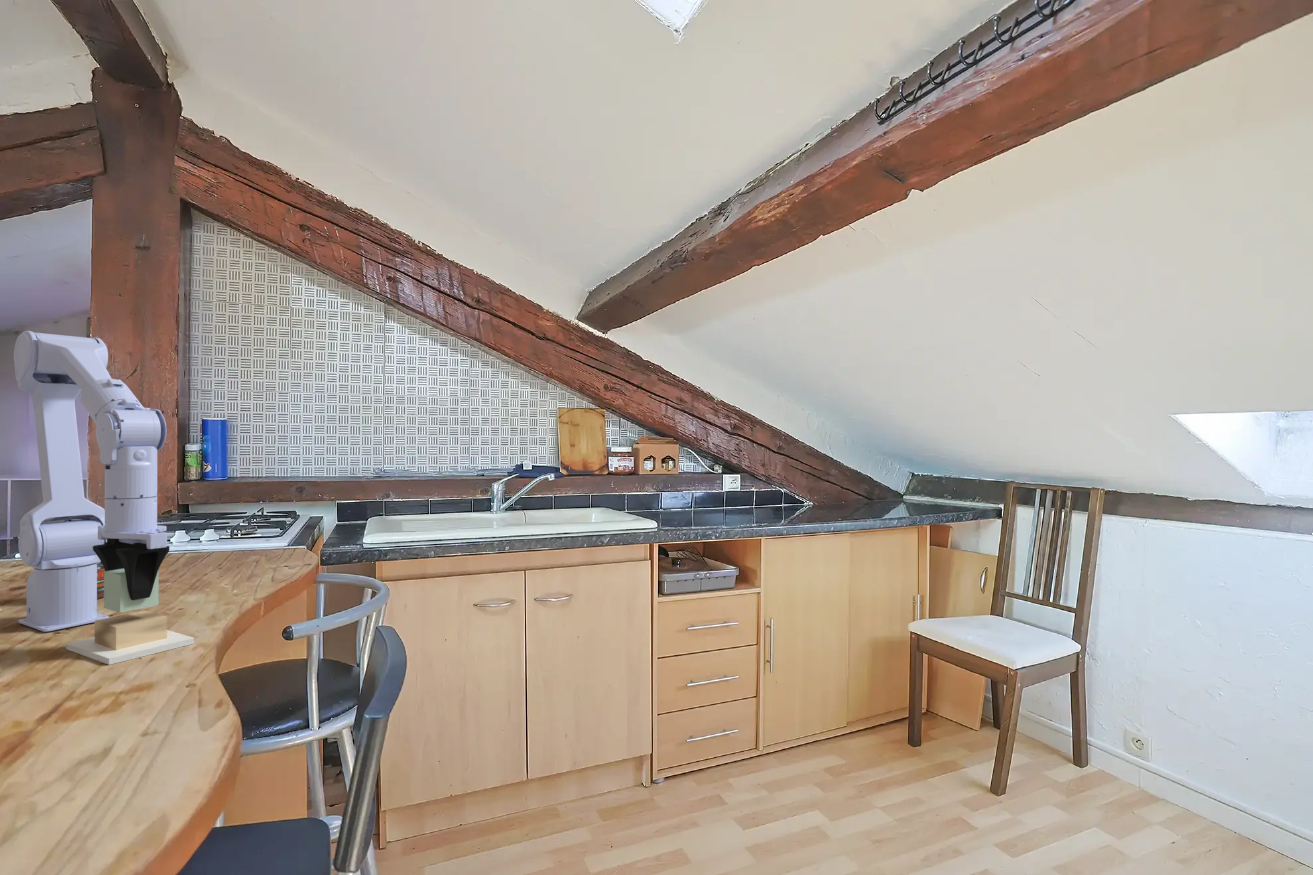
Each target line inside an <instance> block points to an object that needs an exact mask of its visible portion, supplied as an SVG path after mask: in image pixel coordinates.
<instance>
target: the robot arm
mask: <svg viewBox="0 0 1313 875" xmlns="http://www.w3.org/2000/svg"><path fill="white" fill-rule="evenodd" d="M13 362H14V363H13V364H14V375H15V381H16V382H17V388H18V389H19V390H20V391H23V392H25V393H27V394H28V395H30V396H31V402H32V406H33V412H34V413H33V414H34V419H35V421H34V423H35V431H36V443H37V452H38V462H39V473H40V483H41V492H42V502H41V503H40V504H37V505H36V506H35V507H34V508H32V509H30V510H29V511H28V512H26V513H24V515H23V516H22V518H20V521H19V535H18V541H17V542H18V544H17V545H18V553H19V557H20V559H21V561H22V563H24V564H26V566H28V567H31V568H33V570H32V571H31V572H30V573H29V575H28V577H27V580H26V618H21V619H19V620H18V622H17V623H18V624H21V625H24V626H27V627H30V628H32V629H36V630H38V631H41V632H44V633H45V632H53V631H58V630H62V629H66V628H68V629H69V628H71V627H77V626H78V627H79V626H81V625H82V626H83V625H86V624H92V623H95V621H96V620H101V619H106V618H110V616H109V615H105V614H103V613H99V612H98V599H97V562H101V563H102V565H103V567H104V569H105V571H110V570H117V569H123V568H124V570H125V574H126V580H127V588H128V592H129V596H130V599H131V600H138V599H143V598H149V597H150V595H151V592H152V589H153V585H154V582H155V578H156V575H157V572H158V570H159V569H160V568H161V565H162V563H163V561H164V559H165V558H166V556H167V555H168V554H169V552H170V546H169V545H168V532H166V531H167V526H166V525H158V451H160V450H162V449H163V447H164V446H165V443H166V439H167V433H168V432H167V431H168V429H167V423H166V419H165V416H164V415H163V413H162V412H161V410H160V409H157V408H151V407H144V406H143V405H142V403H141V402H140V401H139V399H138V398H137V397H136V395H135V394H134V393H133V392H132V390H131V389H130V388H129V387H128V385H127V384H126V383H125V382H123V381H122V380H121V379H115V378H112V376H111V375H110V372H109V370H107V369H108V368H107V367H108V364H109V351H108V347H107V345H106V343H105V342H104V341H103V340H102V338H100V337H86V336H85V337H84V336H75V335H74V336H73V335H65V334H64V335H63V334H56V333H55V334H53V333H46V332H45V333H44V332H34V331H32V330H24V331H23V332H21V333H20V334H19V335H18V336H17V338H16V340H15V344H14V349H13ZM77 397H80V402H81V405H82V406H83V408H84V409H85V410H86V411H87V413H88V415H89V416H90V418H91V419H92V420H93V421H94V423H95V425H96V429H95V438H96V444H97V446H98V449H99V460H100V464H104V507H102V506H100V505H98V504H96V503H95V502H92V500H89V499H87V498H85V491H84V490H85V489H84V481H83V472H82V462H81V453H80V442H79V434H78V431H79V430H78V423H77V422H78V421H77V412H76V411H77V410H76V405H75V402H76V399H77ZM45 522H46V523H45Z"/></svg>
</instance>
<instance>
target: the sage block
mask: <svg viewBox="0 0 1313 875" xmlns="http://www.w3.org/2000/svg"><path fill="white" fill-rule="evenodd" d="M159 573H160V572H159V570H158V572H157V575H156V578H155V582H154V585H153V589H152V592H151V595H150V597H149V598H143V599H138V600H131V599H130V596H129V592H128V588H127V580H126V574H125V570H124V568H123V569H117V570H110V571H104V597H103V608H104V609H106V610H110V611H112V612H117V613H125V612H131V611H136V610H140V609H145V608H146V609H147V608H150V607H157V606H159V604H160V603H159V597H160V596H159V587H160V586H159V580H160V578H159V576H160V575H159Z"/></svg>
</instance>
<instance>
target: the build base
mask: <svg viewBox="0 0 1313 875" xmlns="http://www.w3.org/2000/svg"><path fill="white" fill-rule="evenodd" d="M194 644H195V637H193V636H190V635H186V634H183V633H179V632H176V631H172V630H169V629H168V616H166V615H162V614H159V613H155V612H151V611H147V610H142V611H137V612H132V613H127V614H122V615H116V616H112V617H109V618H106V619H101V620H96V621H95V622H94V636H93V637H89V638H84V639H80V640H75V641H70V642H67V643H66V644H65V649H66V650H68V651H70V652H73V653H75V654H78V655H81V656H84V657H86V658H89V659H92V660H94V661H97V662H100V663H103V664H106V665H109V666H110V665H113V664H118V663H121V662H126V661H130V660H134V659H139V658H142V657H146V656H150V655H153V654H158V653H163V652H166V651H170V650H174V649H179V648H182V647H186V646H191V645H194Z"/></svg>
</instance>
